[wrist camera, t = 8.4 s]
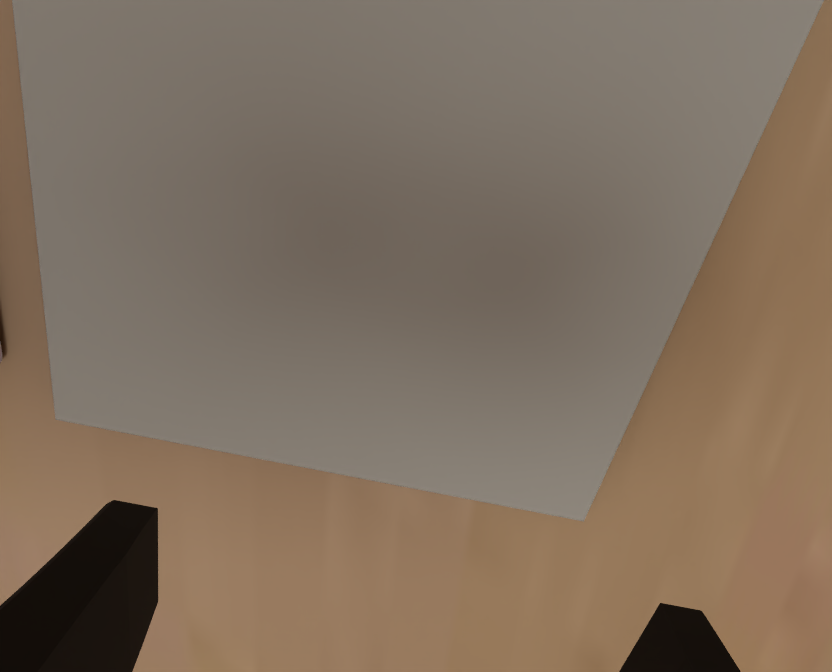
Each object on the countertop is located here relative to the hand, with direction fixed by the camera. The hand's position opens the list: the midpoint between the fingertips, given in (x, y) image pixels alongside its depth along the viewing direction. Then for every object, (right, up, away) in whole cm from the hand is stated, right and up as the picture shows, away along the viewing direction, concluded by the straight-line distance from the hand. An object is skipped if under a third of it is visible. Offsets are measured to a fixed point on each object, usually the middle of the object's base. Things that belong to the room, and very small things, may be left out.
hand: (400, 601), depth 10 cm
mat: (-1, +7, +8) cm, 11 cm away
